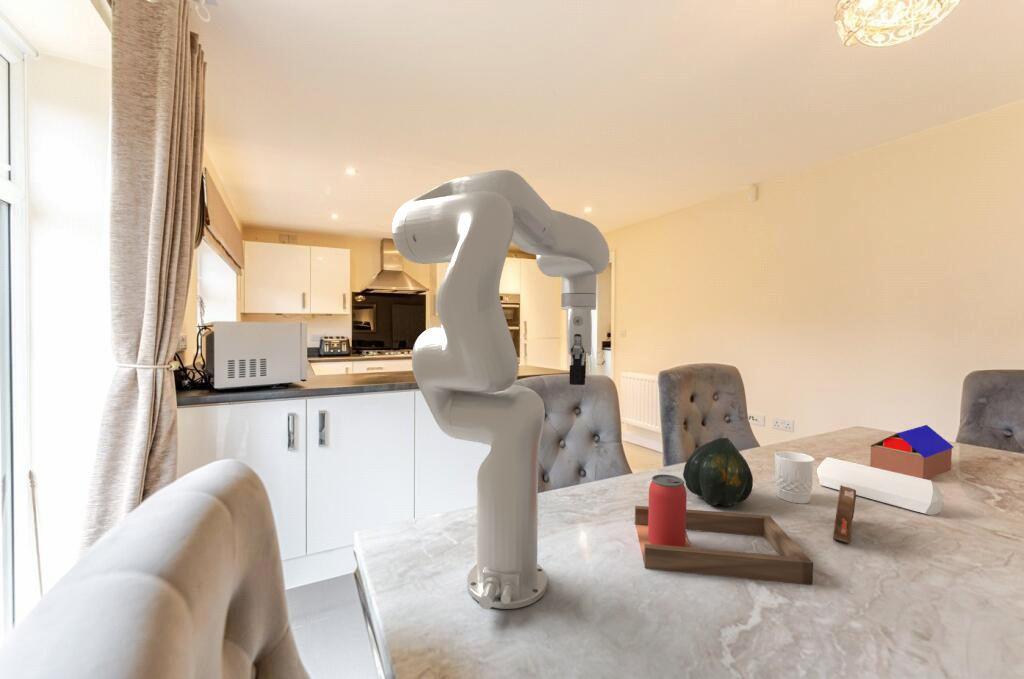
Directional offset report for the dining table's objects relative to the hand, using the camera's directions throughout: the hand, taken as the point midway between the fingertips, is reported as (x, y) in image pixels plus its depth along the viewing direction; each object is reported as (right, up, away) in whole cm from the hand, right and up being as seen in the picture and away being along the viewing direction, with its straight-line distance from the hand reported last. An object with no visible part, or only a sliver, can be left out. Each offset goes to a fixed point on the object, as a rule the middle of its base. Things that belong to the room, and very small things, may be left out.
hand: (577, 381), depth 95 cm
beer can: (+14, -29, -15) cm, 35 cm away
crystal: (+72, -29, +8) cm, 78 cm away
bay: (+21, -29, -16) cm, 39 cm away
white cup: (+52, -28, +7) cm, 59 cm away
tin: (+51, -29, -10) cm, 59 cm away
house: (+98, -28, +28) cm, 106 cm away
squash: (+33, -28, +7) cm, 44 cm away
